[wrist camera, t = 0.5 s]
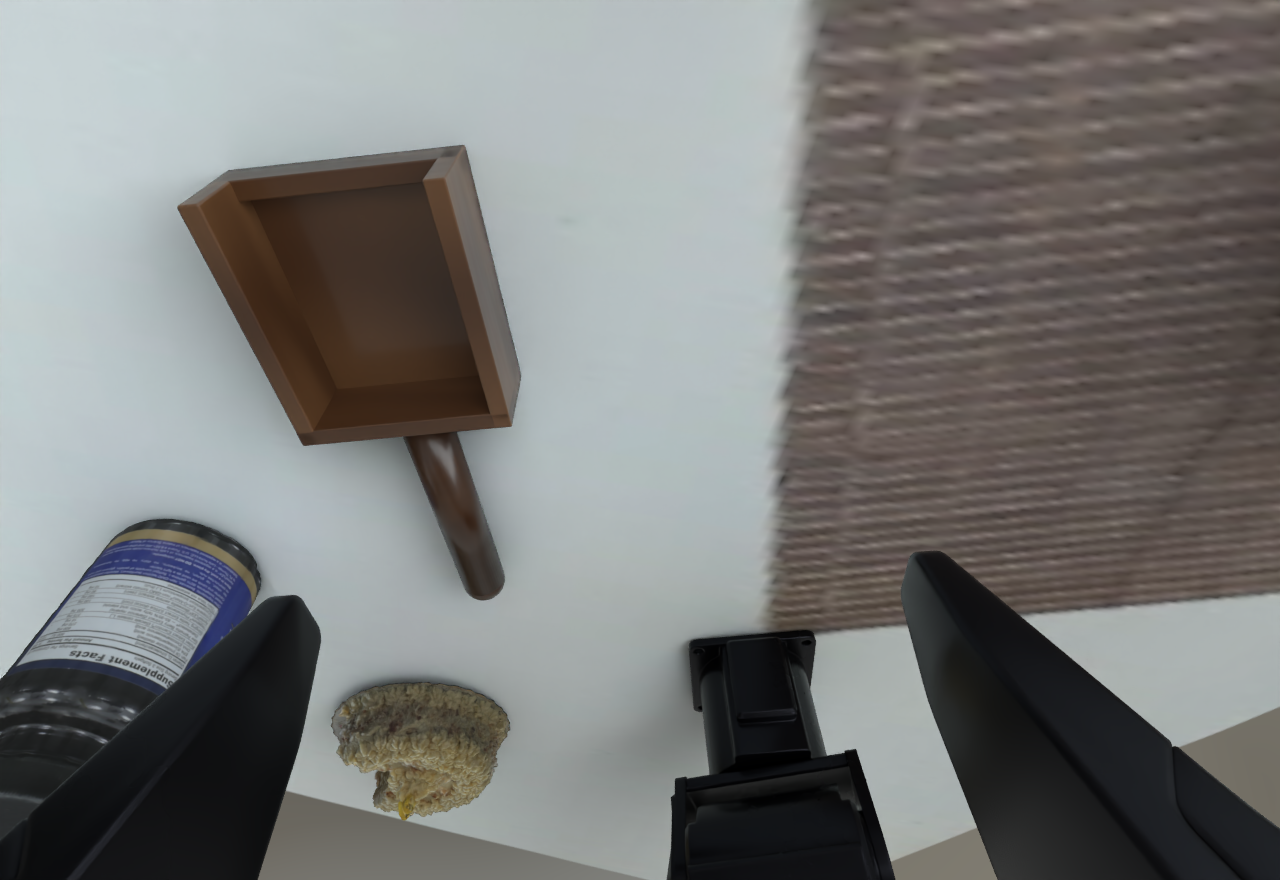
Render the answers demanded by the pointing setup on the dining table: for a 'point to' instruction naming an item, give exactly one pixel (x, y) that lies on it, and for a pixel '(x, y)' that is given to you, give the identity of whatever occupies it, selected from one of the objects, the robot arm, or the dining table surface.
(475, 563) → the scoop
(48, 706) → the pill bottle
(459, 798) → the cake
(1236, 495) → the dining table surface
